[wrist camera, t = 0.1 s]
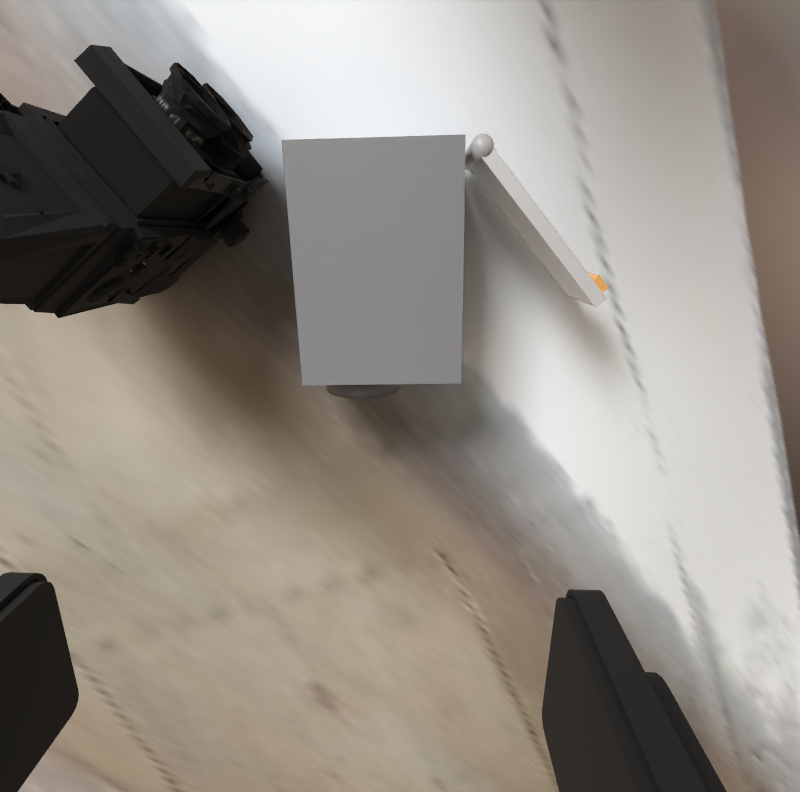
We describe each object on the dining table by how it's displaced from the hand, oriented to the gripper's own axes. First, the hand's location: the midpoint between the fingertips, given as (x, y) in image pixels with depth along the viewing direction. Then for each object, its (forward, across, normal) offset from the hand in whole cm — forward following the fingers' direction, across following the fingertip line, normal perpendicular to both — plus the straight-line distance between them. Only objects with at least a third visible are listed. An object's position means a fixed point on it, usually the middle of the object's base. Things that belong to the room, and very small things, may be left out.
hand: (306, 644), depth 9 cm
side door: (+30, -9, -8) cm, 32 cm away
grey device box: (+31, 0, -5) cm, 31 cm away
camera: (+31, +14, -10) cm, 36 cm away
